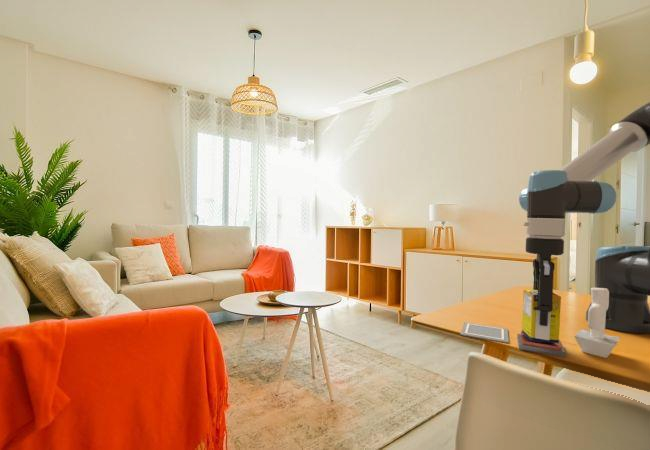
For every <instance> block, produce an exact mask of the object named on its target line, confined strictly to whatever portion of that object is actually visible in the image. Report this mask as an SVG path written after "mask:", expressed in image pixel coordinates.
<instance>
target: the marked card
mask: <svg viewBox="0 0 650 450" xmlns="http://www.w3.org/2000/svg"><path fill="white" fill-rule="evenodd" d="M460 336H464V337H470V338H476V339H482V340H487V341H491V342H497V343H498V342H499V343H504V344H509V343H510V341H509V340H510V338H509V329H508V328H505V327H498V326H492V325H485V324H478V323H472V322H467V321H466V322H465V321H464V322H463V325H462V328H461V331H460Z"/></svg>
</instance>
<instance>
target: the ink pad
mask: <svg viewBox="0 0 650 450" xmlns="http://www.w3.org/2000/svg"><path fill="white" fill-rule="evenodd" d="M516 336H517V337H516V339H517V346H518V350H520V351H527V352H531V353H538V354H544V355H549V356H556V357H561V358H566V356H567V352H566V349H565V348H564V345H563V344H562V342H561V340H560V339H559V343H550V342H540V341H531V340H530V339H529V338H528V337H527V336H526V335H524V334H523V333H522V331H520V333H516Z"/></svg>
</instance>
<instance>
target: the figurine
mask: <svg viewBox="0 0 650 450" xmlns="http://www.w3.org/2000/svg"><path fill="white" fill-rule="evenodd" d="M590 293H591V301H592V304H591V307H590V308H589V311H588V321H587V327H588V329H589V330H587V329H582V328H581V329H580V330H579V331H578V332H577V333H575V334H574V336H573V337H574V338H575V340H576V342H577V344H578V346H579V348H580V350H581V351H582V352H583V353H586V354H589V355H593V356H597V357H602V358H604V359H608V357H609V356H610V355H611V353H612V351H613V350H614V349H615V347H616V345H617V343H619V341H620V339H621V337H618V336H614V335H609V334H606V328H605V320H606V311H607V310H608V306H609V291H608V289H606V288H595V287H591V288H590Z"/></svg>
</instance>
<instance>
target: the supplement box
mask: <svg viewBox="0 0 650 450" xmlns="http://www.w3.org/2000/svg"><path fill="white" fill-rule="evenodd" d="M522 296H523V297H522V298H523V299H522V302H523V303H522V319H521V320H522V322H521V325H522V326H521V332H522V333H523V334H524V335H526V336H527V337H528V338H529V339H530V340H531V341H540V342H550V343H559V340H560V325H561V324H560V322H561V308H562V307H561V305H562V304H561V302H562V296H561V295H559V294H556V293H555V292H553V300H552V307H553V310H552V311H551V317H550V338H549V340H544V339H538V338H535V326H536V310H534V307H537V303H538V290H533V289H528V288H525V289H523V295H522ZM543 305H547V304H543Z"/></svg>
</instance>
